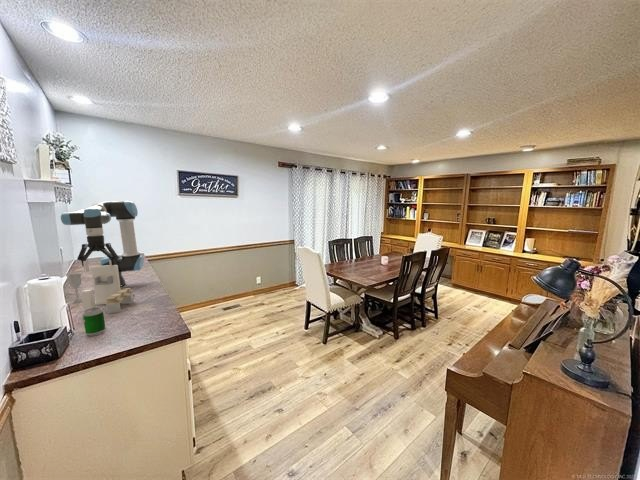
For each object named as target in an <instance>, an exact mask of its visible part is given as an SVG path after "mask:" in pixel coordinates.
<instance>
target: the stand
mask: <svg viewBox="0 0 640 480" xmlns="http://www.w3.org/2000/svg"><path fill="white" fill-rule="evenodd" d="M134 302H135V301H134V294H133V293H131V295H129V296H127V297H126V298H124V299H123V300H121V302H120V303H117V304H115V305H107V304H105V311H106V312H105V313H106V314H112V313H113V314H115V313H118V314H119V312H121V305H122V304H132V303H134Z"/></svg>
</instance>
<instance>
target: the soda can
mask: <svg viewBox="0 0 640 480" xmlns="http://www.w3.org/2000/svg"><path fill="white" fill-rule="evenodd" d="M82 318H83V326H84V333H85V335H87V336H88V337H95V336H98V335H101V334H103V333H104V332H105V330H106V324H105V323H106V321H105V315H104V310H103V308H101V307H97V306H96V307H95V308H91V309H88V310H86V311H85V312H84V311H83V313H82Z"/></svg>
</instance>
